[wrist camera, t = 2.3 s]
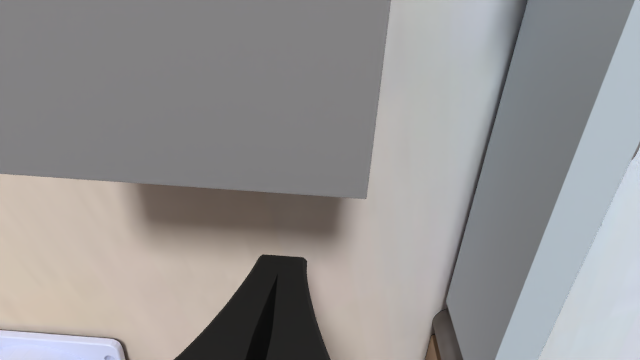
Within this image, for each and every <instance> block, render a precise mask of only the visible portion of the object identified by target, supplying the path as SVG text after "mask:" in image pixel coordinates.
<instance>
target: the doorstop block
mask: <svg viewBox="0 0 640 360" xmlns="http://www.w3.org/2000/svg"><path fill="white" fill-rule="evenodd" d="M390 3H391V0H0V174H12V175H27V176H41V177H56V178H70V179H84V180H99V181H113V182H128V183H142V184H156V185H171V186H185V187H200V188H214V189H228V190H243V191H257V192H272V193H286V194H300V195H315V196H329V197H344V198H358V199H366V198H367V189H368V181H369V173H370V165H371V157H372V149H373V141H374V133H375V125H376V116H377V108H378V100H379V92H380V84H381V76H382V68H383V60H384V52H385V44H386V35H387V27H388V19H389V11H390Z"/></svg>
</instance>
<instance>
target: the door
mask: <svg viewBox="0 0 640 360" xmlns="http://www.w3.org/2000/svg"><path fill="white" fill-rule="evenodd" d="M639 147H640V0H528V2H527V6H526V9H525V13H524V17H523V20H522V24H521V28H520V31H519V35H518V39H517V42H516V46H515V50H514V53H513V57H512V61H511V64H510V68H509V72H508V75H507V79H506V83H505V86H504V90H503V94H502V97H501V101H500V105H499V108H498V112H497V116H496V119H495V123H494V127H493V130H492V134H491V138H490V141H489V145H488V149H487V152H486V156H485V160H484V163H483V167H482V171H481V174H480V178H479V182H478V185H477V189H476V193H475V196H474V200H473V204H472V207H471V211H470V215H469V218H468V222H467V226H466V229H465V233H464V237H463V240H462V244H461V248H460V251H459V255H458V259H457V262H456V266H455V270H454V273H453V277H452V281H451V284H450V288H449V292H448V295H447V299H446V303H447V306H448V309H449V313H450V316H451V320H452V323H453V326H454V330H455V333H456V337H457V340H458V343H459V347H460V350H461V354H462V357H463V360H538V359H539V357H540V354H541V352H542V350H543V348H544V346H545V344H546V342H547V339H548V337H549V335H550V333H551V331H552V329H553V327H554V324H555V322H556V320H557V318H558V316H559V314H560V312H561V309H562V307H563V305H564V303H565V301H566V299H567V297H568V294H569V292H570V290H571V288H572V286H573V284H574V282H575V279H576V277H577V275H578V273H579V271H580V269H581V267H582V264H583V262H584V260H585V258H586V256H587V254H588V252H589V249H590V247H591V245H592V243H593V241H594V239H595V237H596V234H597V232H598V230H599V228H600V226H601V224H602V222H603V219H604V217H605V215H606V213H607V211H608V209H609V207H610V204H611V202H612V200H613V198H614V196H615V194H616V192H617V189H618V187H619V185H620V183H621V181H622V179H623V177H624V174H625V172H626V170H627V168H628V166H629V164H630V162H631V160H632V159H633V158H634V157H635V155H636V154H637V152H638V150H639Z"/></svg>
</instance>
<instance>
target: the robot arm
mask: <svg viewBox="0 0 640 360" xmlns="http://www.w3.org/2000/svg"><path fill="white" fill-rule="evenodd" d="M0 360H125V356H124V352H123V349H122V346H121V344H120V343H119V342H118V341H116V340H114V339H109V338H97V337H84V336H71V335H58V334H45V333H32V332H19V331H6V330H0ZM174 360H331V359H330V357H329V355H328V352H327V350H326V347H325V344H324V342H323V339H322V336H321V333H320V330H319V327H318V324H317V321H316V317H315V314H314V310H313V306H312V302H311V298H310V293H309V288H308V282H307V261H306V260H305V259H304V258H303V257H289V256H276V255H262V256H260V257H259V258H258V260H257V262H256V264H255V265H254V267H253V268H252V270H251V272H250V273H249V274H248V276H247V277H246V279H245V280H244V282H243V283H242V284H241V286H240V287H239V289H238V290H237V291H236V292H235V294H234V295H233V296H232V298H231V299H230V300H229V302H228V303H227V304H226V305H225V307H224V308H223V309H222V310H221V311H220V312H219V314H218V315H217V316H216V317H215V318H214V319H213V320H212V322H211V323H210V324H209V325H208V326H207V327H206V328H205V329H204V331H203V332H202V333H201V334H200V335H199V336H198V337H197V338H196V339H195V340H194V341H193V342H192V343H191V344H190V345H189V346H188V347H187V348H186V349H185V350H184V351H183V352H182V353H181V354H180V355H179V356H177V357H176V358H175V359H174Z"/></svg>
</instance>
